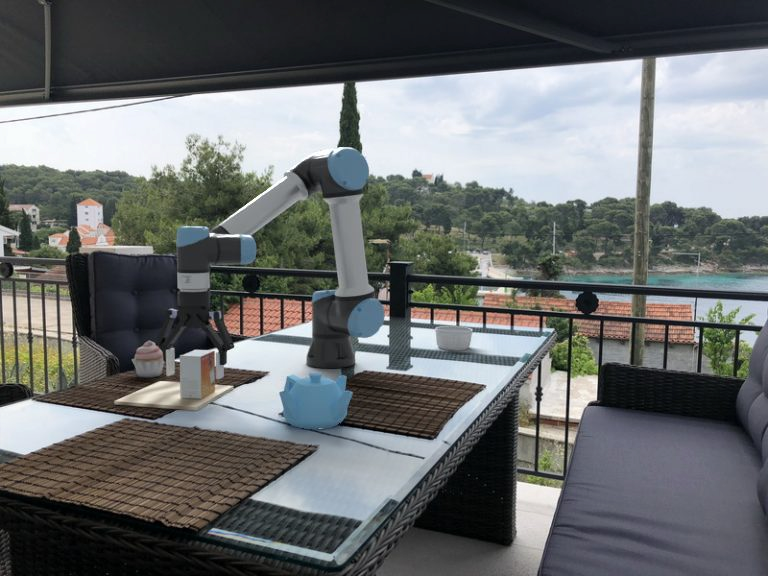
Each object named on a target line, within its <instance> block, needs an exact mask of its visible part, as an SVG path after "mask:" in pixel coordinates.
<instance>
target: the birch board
mask: <svg viewBox="0 0 768 576" xmlns="http://www.w3.org/2000/svg"><path fill="white" fill-rule="evenodd" d="M233 390H234V385H225V384H224V385H223V384H215V392H213V393H211V394H209V395H207V396H205V397H203V398H202V399H194V398H181V397H180V381H179V382H178V381H166V380H165V381H164V380H163V381H162V380H159V381H157V382H154V383H152V384H150V385H148V386H146V387H143V388H141V389H139V390H137V391H134V392H132V393H130V394H127V395H125V396H123V397H121V398H118V399H116V400H114V401H113V402H114V405H116V406H117V405H118V406H119V405H120V406H129V407H130V406H132V407H142V408H143V407H144V408H156V409H157V408H159V409H170V410H171V409H172V410H181V411H182V410H183V411H198V410H201V408H204V407H206V406H207V405H208V404H210V403H212V402H214V401H216V400H217V399H218V398H221V397H222V396H224V395H225V394H228V393H229V392H231V391H233Z"/></svg>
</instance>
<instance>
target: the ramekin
mask: <svg viewBox="0 0 768 576" xmlns="http://www.w3.org/2000/svg"><path fill="white" fill-rule="evenodd" d="M434 332H435V337H436V338H435V339H436V345H437V347H438V349H441V350H445V351H465V350H468V349H469V348H470V345H471V342H472V336H473V333H474V332H473V328H470V327H466V326H461V325H460V326H459V325H441V326H436V327H435V329H434Z"/></svg>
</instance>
